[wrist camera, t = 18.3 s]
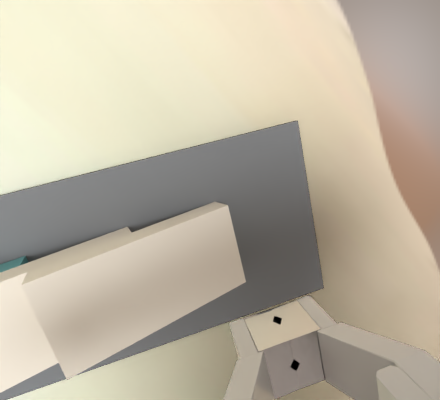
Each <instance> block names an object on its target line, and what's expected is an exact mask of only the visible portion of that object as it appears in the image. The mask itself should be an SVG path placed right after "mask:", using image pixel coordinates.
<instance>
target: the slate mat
mask: <svg viewBox="0 0 440 400" xmlns="http://www.w3.org/2000/svg"><path fill="white" fill-rule="evenodd" d="M213 202H218V203H222V204H225V205H228V207H229V212H230V216H231V220H232V224H233V229H234V233H235V237H236V242H237V246H238V250H239V254H240V259H241V263H242V267H243V271H244V276H245V280H246V282H245V283H243V284H241V285H240V286H238V287H236V288H234V289H232V290H230V291H229V292H227V293H225V294H223V295H221V296H219V297H218V298H216V299H214V300H212V301H210V302H209V303H207V304H205V305H203V306H201V307H199V308H198V309H196V310H194V311H192V312H190V313H188V314H187V315H185V316H183V317H181V318H179V319H177V320H176V321H174V322H172V323H170V324H168V325H167V326H165V327H163V328H161V329H159V330H157V331H156V332H154V333H152V334H150V335H148V336H146V337H145V338H143V339H141V340H139V341H137V342H135V343H134V344H132V345H130V346H128V347H126V348H125V349H123V350H121V351H119V352H117V353H115V354H114V355H112V356H110V357H108V358H106V359H104V360H103V361H101V362H99V363H97V364H95V365H93V366H92V367H90V368H88V369H86V370H84V371H83V372H81V373H84V372H87V371H90V370H93V369H95V368H98V367H101V366H104V365H107V364H110V363H112V362H115V361H118V360H121V359H124V358H127V357H129V356H132V355H135V354H138V353H141V352H144V351H147V350H149V349H152V348H155V347H158V346H161V345H164V344H166V343H169V342H172V341H175V340H178V339H181V338H183V337H186V336H189V335H192V334H195V333H198V332H200V331H203V330H206V329H209V328H212V327H215V326H218V325H220V324H223V323H226V322H229V321H232V320H235V319H237V318H240V317H243V316H246V315H249V314H252V313H254V312H257V311H260V310H263V309H266V308H269V307H271V306H274V305H277V304H280V303H283V302H286V301H289V300H291V299H294V298H297V297H300V296H303V295H306V294H308V293H311V292H314V291H317V290H320V289H323V288H324V286H323V280H322V273H321V267H320V260H319V254H318V247H317V241H316V235H315V228H314V222H313V215H312V209H311V202H310V196H309V189H308V183H307V177H306V170H305V164H304V157H303V151H302V144H301V138H300V131H299V125H298V121H293V122H289V123H285V124H281V125H277V126H274V127H270V128H266V129H262V130H258V131H254V132H250V133H246V134H242V135H238V136H234V137H230V138H226V139H222V140H218V141H214V142H210V143H206V144H202V145H198V146H194V147H190V148H186V149H182V150H178V151H174V152H171V153H167V154H163V155H159V156H155V157H151V158H147V159H143V160H139V161H135V162H131V163H127V164H123V165H119V166H115V167H111V168H107V169H103V170H99V171H95V172H91V173H87V174H83V175H79V176H75V177H71V178H67V179H64V180H60V181H56V182H52V183H48V184H44V185H40V186H36V187H32V188H28V189H24V190H20V191H16V192H12V193H8V194H4V195H0V264H3V263H6V262H9V261H12V260H14V259H17V258H20V257H23V256H26V258H27V260H28V262H31V261H34V260H37V259H39V258H42V257H45V256H48V255H50V254H53V253H56V252H59V251H61V250H64V249H67V248H70V247H72V246H75V245H78V244H81V243H83V242H86V241H89V240H92V239H95V238H97V237H100V236H103V235H106V234H108V233H111V232H114V231H117V230H119V229H122V228H125V227H128V228H129V229H130V231H131V232H135V231H137V230H140V229H143V228H145V227H148V226H151V225H153V224H156V223H159V222H162V221H164V220H167V219H170V218H172V217H175V216H178V215H180V214H183V213H186V212H188V211H191V210H194V209H197V208H199V207H202V206H205V205H207V204H210V203H213ZM81 373H79V374H81ZM77 375H78V374H77ZM64 379H66V377H65V375H64V373H63V371H62V369H61V366H60V364H59V363H57V364H55V365H53V366H51V367H49V368H47V369H46V370H44V371H42V372H40V373H38V374H36V375H34V376H32V377H30V378H28V379H26V380H24V381H22V382H20V383H18V384H16V385H15V386H13V387H11V388H9V389H7V390H5V391H3V392H1V393H0V400H7V399H10V398H13V397H16V396H19V395H22V394H24V393H27V392H30V391H33V390H36V389H39V388H41V387H44V386H47V385H50V384H53V383H56V382H58V381H61V380H64Z"/></svg>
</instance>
